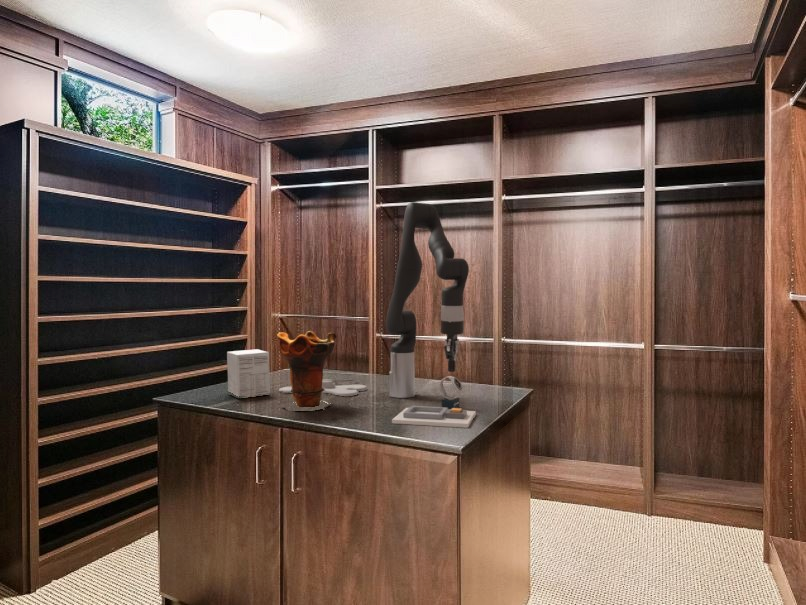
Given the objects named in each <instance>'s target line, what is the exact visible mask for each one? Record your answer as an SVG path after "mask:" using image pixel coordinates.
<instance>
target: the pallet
mask: <svg viewBox="0 0 806 605" xmlns="http://www.w3.org/2000/svg"><path fill="white" fill-rule="evenodd" d="M476 414H477V410H467V409H462V413H451V409H448V408H446V407H442V406H422V405H411V406H410V407H405V408H404V409H403V410H402V411H400V412H399V413H398V414H397V415H396V416H395V417H393V418H392V419H391V424H393V425H394V424H398V425H410V426H411V425H412V426H413V425H414V426H415V425H416V426H432V427H445V428H446V427H449V428H453V427H454V428H465V429H468V428H469V426H470V425H471V423H472V422H473V421H474V419H473V418H475V417H476Z"/></svg>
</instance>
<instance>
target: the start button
mask: <svg viewBox="0 0 806 605" xmlns="http://www.w3.org/2000/svg"><path fill="white" fill-rule="evenodd" d="M462 410H463V408H461V407H458V408H452V409H451V413H462Z"/></svg>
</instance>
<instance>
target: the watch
mask: <svg viewBox="0 0 806 605" xmlns="http://www.w3.org/2000/svg"><path fill="white" fill-rule="evenodd" d="M446 379H449V381H450V383H451V386H452V388H453V389H454V390H455V392H456V396H455V397H453V396H448V393H447V391H446V389H445V386H444V381H445V380H446ZM462 390H463V384H462V382H461V380H460V379H459V378H457V377H456V376H454V375H453V376H451V375H448V376H446V377H443V378H442V379H440V381H439V391H440V393H441V396H442V397H443V398H442V399H441V407H446V408H448V410H449V409H452V408H460V396H461V394H462V392H463V391H462Z"/></svg>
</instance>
